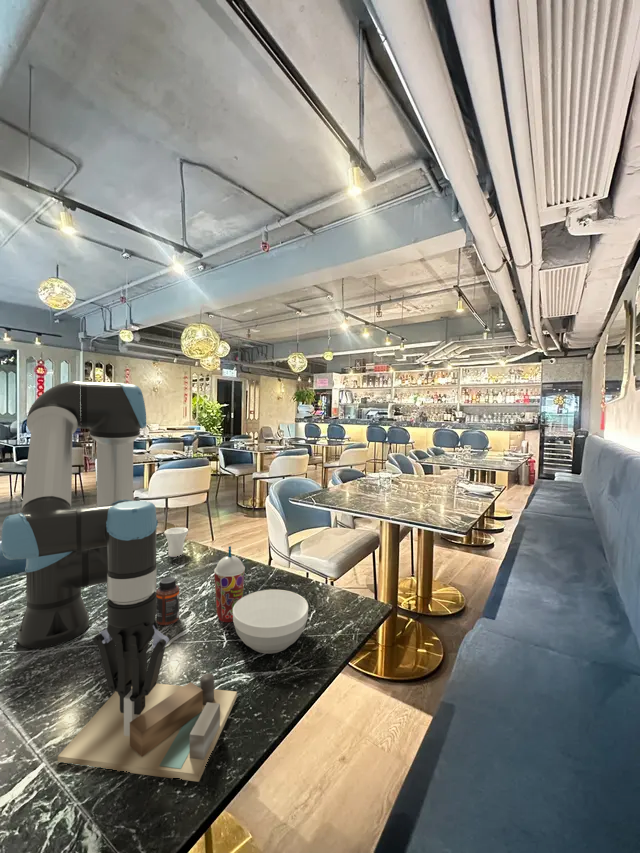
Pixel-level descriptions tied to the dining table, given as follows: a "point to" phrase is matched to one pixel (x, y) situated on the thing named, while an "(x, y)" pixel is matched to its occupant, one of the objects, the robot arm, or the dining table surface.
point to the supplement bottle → (167, 602)
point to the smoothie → (228, 585)
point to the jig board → (169, 758)
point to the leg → (165, 718)
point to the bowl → (270, 619)
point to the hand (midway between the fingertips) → (132, 729)
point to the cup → (176, 540)
